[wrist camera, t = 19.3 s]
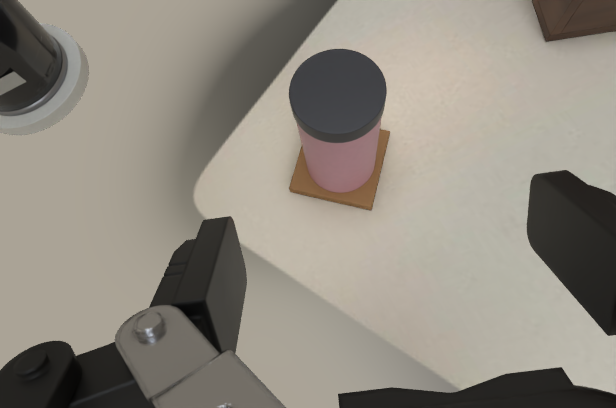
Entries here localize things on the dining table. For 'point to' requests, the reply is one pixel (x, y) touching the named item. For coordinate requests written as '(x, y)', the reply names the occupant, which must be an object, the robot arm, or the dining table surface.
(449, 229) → the dining table surface
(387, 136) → the cork mat
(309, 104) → the tube
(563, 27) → the chest
